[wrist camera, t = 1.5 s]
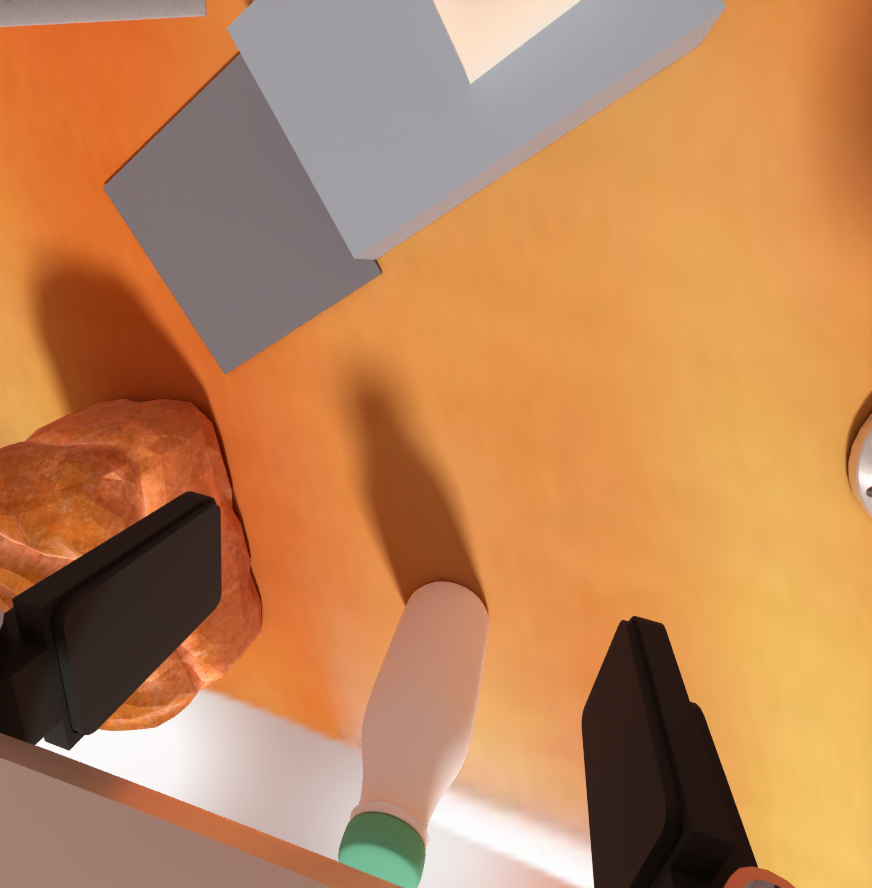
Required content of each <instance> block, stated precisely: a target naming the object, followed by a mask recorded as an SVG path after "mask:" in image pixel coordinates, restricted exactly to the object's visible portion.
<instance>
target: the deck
mask: <svg viewBox="0 0 872 888" xmlns="http://www.w3.org/2000/svg"><path fill="white" fill-rule="evenodd" d="M725 8H726V7H725V4H724V1H723V0H581V1H579V2H578V3H577V4H575V5H574V6H573V7H571V8H570V9H569V10H567V11H566V12H565V13H564V14H562V15H561V16H560V17H558V18H557V19H556V20H554V21H553V22H552V23H550V24H549V25H548V26H546V27H545V28H544V29H542V30H541V31H540V32H538V33H537V34H536V35H534V36H533V37H532V38H531V39H529V40H528V41H527V42H525V43H524V44H523V45H521V46H520V47H519V48H517V49H516V50H515V51H513V52H512V53H511V54H509V55H508V56H507V57H505V58H504V59H503V60H502V61H500V62H499V63H498V64H496V65H495V66H494V67H492V68H491V69H490V70H488V71H487V72H486V73H484V74H483V75H482V76H480V77H479V78H478V79H476V80H475V81H474V82H473V83H471V84H470V82H469V80H468V78H467V76H466V73H465V71H464V69H463V67H462V65H461V62H460V60H459V58H458V56H457V54H456V52H455V49H454V47H453V45H452V43H451V41H450V39H449V36H448V34H447V32H446V30H445V28H444V25H443V23H442V21H441V19H440V17H439V15H438V12H437V10H436V8H435V6H434V4H433V1H432V0H254V1H253V2H252V3H251V4H250V5H249V6H248V7H247V8H246V9H245V10H244V11H243V12H242V13H241V14H240V15H239V17H238V18H237V19H236V20H235V21H234V22H233V23H232V24H231V25H230V26H229V27H228V28H227V30H228V32H229V33H230V35H231V37H232V39H233V41H234V42H235V44H236V46H237V48H238V50H239V52H240V53H241V55H242V57H243V59H244V61H245V62H246V64H247V66H248V68H249V70H250V71H251V73H252V75H253V77H254V79H255V80H256V82H257V84H258V86H259V88H260V89H261V91H262V93H263V95H264V97H265V98H266V100H267V102H268V104H269V106H270V107H271V109H272V111H273V113H274V115H275V116H276V118H277V120H278V122H279V124H280V126H281V127H282V129H283V131H284V133H285V135H286V136H287V138H288V140H289V142H290V144H291V145H292V147H293V149H294V151H295V153H296V154H297V156H298V158H299V160H300V162H301V163H302V165H303V167H304V169H305V171H306V172H307V174H308V176H309V178H310V180H311V181H312V183H313V185H314V187H315V189H316V191H317V192H318V194H319V196H320V198H321V200H322V201H323V203H324V205H325V207H326V209H327V210H328V212H329V214H330V216H331V218H332V219H333V221H334V223H335V225H336V227H337V228H338V230H339V232H340V234H341V236H342V237H343V239H344V241H345V243H346V245H347V246H348V248H349V250H350V252H351V254H352V255H353V257H354V259H368V260H376V259H377V258H379V257H380V256H382V255H383V254H385V253H386V252H388V251H389V250H391V249H392V248H394V247H396V246H397V245H399V244H400V243H402V242H403V241H405V240H406V239H408V238H409V237H411V236H412V235H414V234H415V233H417V232H418V231H420V230H421V229H423V228H424V227H426V226H427V225H429V224H430V223H432V222H433V221H435V220H436V219H438V218H439V217H441V216H442V215H444V214H445V213H447V212H448V211H450V210H451V209H453V208H454V207H456V206H457V205H459V204H460V203H462V202H463V201H465V200H466V199H468V198H470V197H471V196H473V195H474V194H476V193H477V192H479V191H480V190H482V189H483V188H485V187H486V186H488V185H489V184H491V183H492V182H494V181H495V180H497V179H498V178H500V177H501V176H503V175H504V174H506V173H507V172H509V171H510V170H512V169H513V168H515V167H516V166H518V165H519V164H521V163H522V162H524V161H525V160H527V159H528V158H530V157H531V156H533V155H534V154H536V153H537V152H539V151H540V150H542V149H544V148H545V147H547V146H548V145H550V144H551V143H553V142H554V141H556V140H557V139H559V138H560V137H562V136H563V135H565V134H566V133H568V132H569V131H571V130H572V129H574V128H575V127H577V126H578V125H580V124H581V123H583V122H584V121H586V120H587V119H589V118H590V117H592V116H593V115H595V114H596V113H598V112H599V111H601V110H602V109H604V108H605V107H607V106H608V105H610V104H611V103H613V102H614V101H616V100H618V99H619V98H621V97H622V96H624V95H625V94H627V93H628V92H630V91H631V90H633V89H634V88H636V87H637V86H639V85H640V84H642V83H643V82H645V81H646V80H648V79H649V78H651V77H652V76H654V75H655V74H657V73H658V72H660V71H661V70H663V69H664V68H666V67H667V66H669V65H670V64H672V63H673V62H675V61H676V60H678V59H679V58H681V57H682V56H684V55H685V54H687V53H689V52H690V51H692V50H693V49H695V48H696V47H698V46H699V45H700V44H701V42H702V41H703V39H704V38H705V36H706V35H707V33H708V32H709V31H710V29H711V28H712V26H713V25H714V23H715V22H716V21H717V19H718V18H719V16H720V15H721V13H722V12H723V11H724V9H725Z"/></svg>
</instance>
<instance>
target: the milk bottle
mask: <svg viewBox="0 0 872 888" xmlns="http://www.w3.org/2000/svg"><path fill="white" fill-rule="evenodd" d="M488 632H489V617H488V613H487V610H486V608H485V606H484V604H483V602H482V601H481V600H480V599H479V597H478V596H477V595H475V594H474V593H473V592H472V591H471V590H469V589H467V588H466V587H464V586H461V585H459V584H456V583H452V582H445V581H439V582H432V583H428V584H426V585H424V586H422V587H420V588H419V589H417V590H416V591H415V592H414V593H413V594H412V595H411V597H410V598H409V600H408V603H407V605H406V607H405V609H404V612H403V614H402V617H401V619H400V621H399V624H398V626H397V629H396V631H395V634H394V636H393V639H392V641H391V644H390V646H389V649H388V651H387V654H386V656H385V659H384V661H383V664H382V666H381V669H380V671H379V674H378V676H377V679H376V681H375V684H374V687H373V690H372V693H371V696H370V698H369V701H368V704H367V708H366V712H365V716H364V721H363V727H362V760H363V783H362V792H361V799H360V802H359V805H357V806H356V807H355V808H354V809H353V811H352V813H351V816H350V822H349V823H348V825H347V827H346V830H345V832H344V835H343V838H342V841H341V844H340V847H339V855H338V859H339V862H340V863H342V864H345V865H348V866H350V867H353V868H355V869H358V870H360V871H363V872H365V873H368V874H370V875H373V876H375V877H378V878H380V879H383V880H385V881H388V882H391V883H393V884H396V885H398V886H401V887H403V888H417V887H418V885H419V883H420V880H421V876H422V872H423V867H424V862H425V850H426V848H427V846H428V842H429V840H428V839H429V838H428V833H427V826H428V823H429V820H430V818H431V816H432V814H433V811H434V809H435V808H436V806H437V804H438V802H439V801H440V799H441V797H442V796H443V794H444V793H445V792H446V790H447V789H448V788H449V786H450V785H451V783H452V782H453V780H454V779H455V777H456V776H457V774H458V772H459V771H460V769H461V767H462V765H463V762H464V760H465V758H466V755H467V752H468V748H469V745H470V742H471V737H472V732H473V727H474V722H475V717H476V711H477V704H478V698H479V692H480V686H481V679H482V673H483V666H484V660H485V653H486V646H487V639H488Z"/></svg>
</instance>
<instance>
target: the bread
mask: <svg viewBox="0 0 872 888" xmlns="http://www.w3.org/2000/svg"><path fill="white" fill-rule="evenodd" d="M187 491H193V492H196V493H200V494H203V495H207V496H210V497H213V498H214V499H215V501H216V505H218V506H219V507H220V509H221V571H222V595H221V599H220V602H219V604H218V606H217V607H216V609H215V610H214V611H213V612H212V613H211V614H210V615H209V616H208V617H207V618H206V619H205V620H204V621H203V622H202V623H201V624H200V625H199V626H198V627H197V628H196V629H195V630H194V631H193V632H192V633H191V634H190V636H189V637H188V638H187V639H186V640H185V641H184V642H183V643H182V644H181V645H180V646H179V647H178V648H177V649H176V650H175V651H174V652H173V653H172V654H171V655H170V656H169V657H168V658H167V659H166V660H165V661H164V662H163V663H162V664H161V665H160V666H159V667H158V668H157V669H156V670H155V671H154V672H153V673H152V674H151V675H150V676H149V677H148V679H147V680H146V681H145V682H144V683H143V684H142V685H141V686H140V687H139V688H138V689H137V690H136V691H135V692H134V693H133V694H132V695H131V696H130V697H129V698H128V699H127V700H126V701H125V702H124V703H123V704H122V705H121V706H120V707H119V708H118V709H117V710H116V711H115V712H114V713H113V714H112V715H111V716H110V717H109V718H108V719H107V721H106V722H105V723H104V724H103V725H102V726H101V727H100V728H99V729H101V730H109V731H122V730H137V729H147V728H155V727H157V726H159V725H161V724H162V723H164V722H166V721H168V720H169V719H171V718H173V717H175V716H176V715H177V714H178V713H180V712H181V711H182V710H183V709H184V708H185V707H186V706H188V705H189V703H190V702H191V701H192V699H193V698H194V697H195V696H196V694H197V693H198V692H199V690H201V689H204V688H208V687H210V686H211V685H212V684H214V683H215V682H216V681H218V680H219V679H220V678H221V677H222V676H223V675H224V674H225V673H226V672H227V671H228V669H229V668H230V667H231V666H232V664H234V663H235V662H236V661H237V660H239V659H240V658H241V657H242V656H243V654H244V653H245V652H246V651H247V649H248V648H249V647H250V646H251V644H252V643H253V642H254V640H255V639H256V637H257V636H258V634H259V633H260V632H261V626H262V613H261V601H260V598H259V595H258V592H257V590H256V587H255V584H254V582H253V579H252V576H251V573H250V571H249V570H250V558H249V554H248V550H247V546H246V542H245V538H244V534H243V530H242V526H241V523H240V521H239V520H238V518H237V517H236V515H235V513H234V512H233V510H232V489H231V486H230V483H229V479H228V476H227V472H226V469H225V466H224V462H223V459H222V455H221V451H220V446H219V443H218V440H217V437H216V433H215V430H214V427H213V424H212V422H211V421H210V420H209V419H208V418H207V417H206V416H205V415H204V414H203V413H202V412H201V411H200V410H199V409H198V408H197V407H196V406H195V405H194V404H193V403H192V402H189V401H179V400H169V399H158V400H151V401H143V402H138V401H133V400H129V399H117V400H109V401H102V402H97V403H95V404H94V405H92V406H90V407H88V408H86V409H84V410H82V411H80V412H78V413H74V414H70V415H66V416H64V417H62V418H60V419H58V420H56V421H54V422H52V423H50V424H48V425H46V426H43V427H41V428H39V429H37V430H36V431H35V432H34V433H33V434H32V435H31V436H30V437H29V438H28V439H27V440H26V441H25V442H19V443H16V444H12V445H9V446H5V447H3V448H1V449H0V609H1V611H2V612H3V614H4V613H5V612H7V611H8V610H10V609H12V608H13V607H14V606H13V602H12V598H14V597H16V596H17V595H19V594H20V593H22V592H24V591H25V590H27V589H29V588H30V587H32V586H33V585H35V584H37V583H38V582H40V581H42V580H43V579H45V578H46V577H48V576H50V575H51V574H53V573H55V572H56V571H58V570H59V569H61V568H63V567H64V566H66V565H68V564H69V563H71V562H72V561H74V560H76V559H77V558H79V557H81V556H82V555H84V554H85V553H87V552H89V551H90V550H92V549H94V548H95V547H97V546H99V545H100V544H102V543H103V542H105V541H107V540H108V539H110V538H112V537H113V536H115V535H116V534H118V533H120V532H121V531H123V530H125V529H126V528H128V527H129V526H131V525H133V524H134V523H136V522H138V521H139V520H141V519H142V518H144V517H146V516H147V515H149V514H151V513H152V512H154V511H155V510H157V509H159V508H160V507H162V506H164V505H165V504H167V503H168V502H170V501H172V500H173V499H175V498H177V497H178V496H180V495H181V494H183V493H185V492H187Z"/></svg>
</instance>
